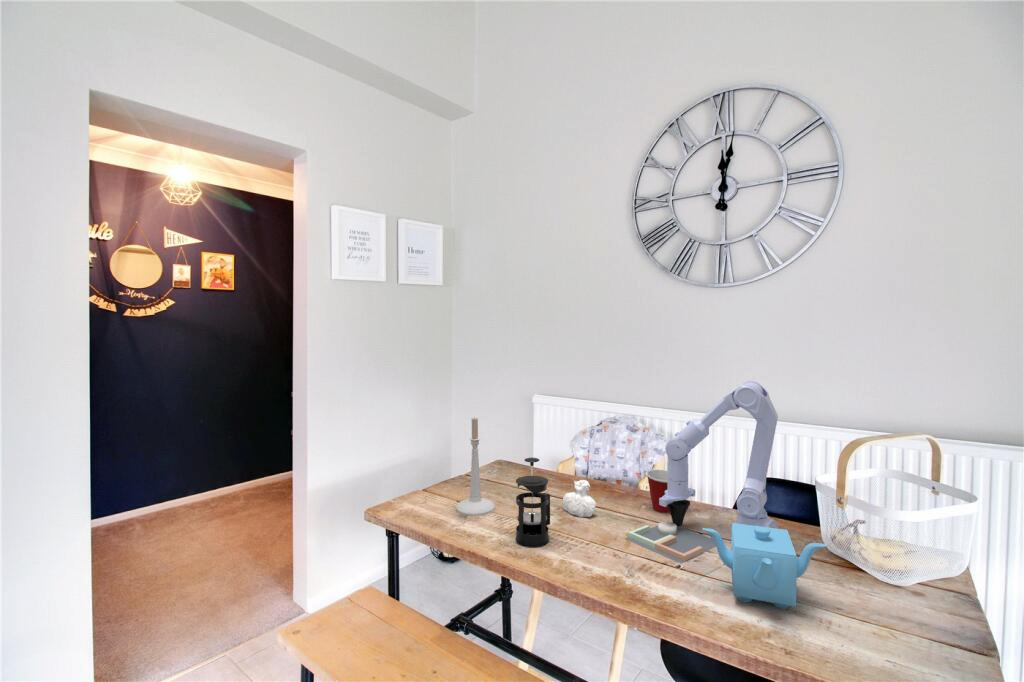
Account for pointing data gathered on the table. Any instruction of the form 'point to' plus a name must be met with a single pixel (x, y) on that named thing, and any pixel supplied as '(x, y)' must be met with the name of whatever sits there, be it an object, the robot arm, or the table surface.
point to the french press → (532, 520)
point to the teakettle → (763, 563)
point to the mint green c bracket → (637, 536)
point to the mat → (678, 541)
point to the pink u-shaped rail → (682, 556)
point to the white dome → (667, 528)
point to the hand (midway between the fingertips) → (677, 525)
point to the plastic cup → (658, 488)
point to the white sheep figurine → (579, 500)
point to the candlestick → (475, 483)
